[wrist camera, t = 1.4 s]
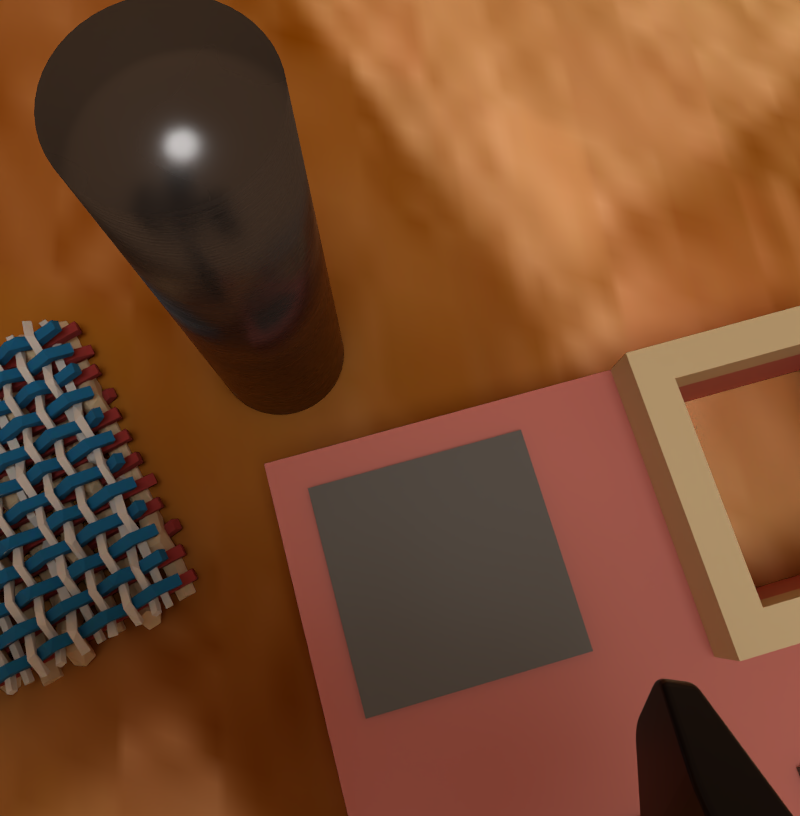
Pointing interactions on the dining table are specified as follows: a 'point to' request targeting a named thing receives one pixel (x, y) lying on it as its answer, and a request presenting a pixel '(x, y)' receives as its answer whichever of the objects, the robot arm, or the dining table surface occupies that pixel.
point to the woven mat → (72, 511)
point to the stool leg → (200, 186)
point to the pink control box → (539, 590)
